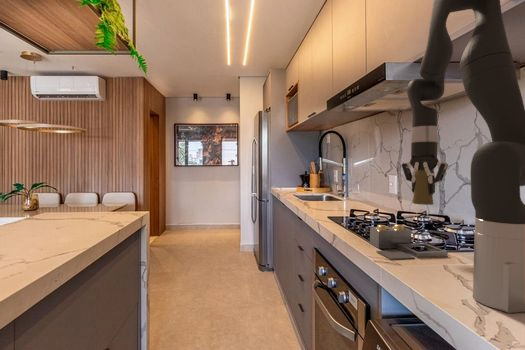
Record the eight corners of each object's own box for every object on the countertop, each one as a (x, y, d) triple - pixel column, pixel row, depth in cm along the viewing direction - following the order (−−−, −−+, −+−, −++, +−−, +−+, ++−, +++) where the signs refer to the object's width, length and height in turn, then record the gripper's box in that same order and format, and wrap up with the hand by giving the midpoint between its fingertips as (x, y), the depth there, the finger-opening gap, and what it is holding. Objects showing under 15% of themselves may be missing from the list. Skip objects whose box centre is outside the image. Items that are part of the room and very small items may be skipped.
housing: (447, 256, 95) (448, 237, 95) (397, 258, 92) (398, 239, 92) (412, 242, 112) (412, 226, 112) (369, 243, 109) (370, 227, 109)
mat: (414, 258, 92) (414, 257, 92) (390, 259, 91) (390, 258, 91) (399, 251, 100) (399, 250, 100) (376, 252, 99) (376, 250, 99)
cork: (412, 201, 103) (413, 169, 102) (433, 203, 100) (434, 169, 99) (411, 203, 97) (412, 169, 97) (433, 205, 94) (434, 169, 94)
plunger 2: (405, 240, 106) (405, 226, 106) (397, 240, 106) (397, 226, 106) (400, 238, 109) (400, 224, 109) (392, 238, 109) (392, 224, 109)
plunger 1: (387, 240, 105) (388, 226, 105) (379, 241, 105) (380, 226, 105) (383, 238, 108) (383, 224, 108) (375, 239, 108) (375, 225, 108)
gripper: (396, 142, 101) (395, 193, 102) (443, 139, 90) (442, 197, 90) (407, 143, 106) (407, 192, 106) (453, 140, 95) (452, 195, 95)
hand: (423, 194), depth 98 cm, fingers closed on cork, 4 cm apart
